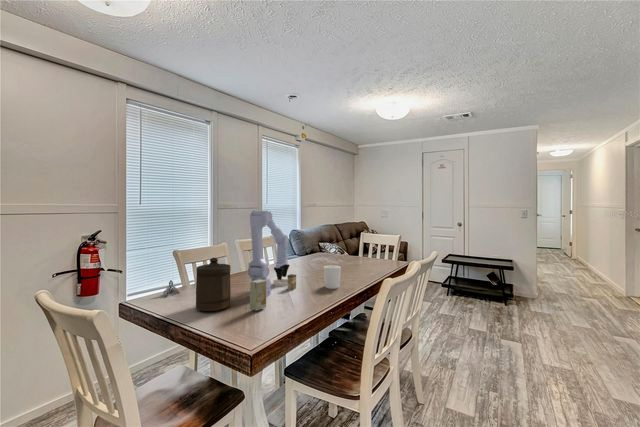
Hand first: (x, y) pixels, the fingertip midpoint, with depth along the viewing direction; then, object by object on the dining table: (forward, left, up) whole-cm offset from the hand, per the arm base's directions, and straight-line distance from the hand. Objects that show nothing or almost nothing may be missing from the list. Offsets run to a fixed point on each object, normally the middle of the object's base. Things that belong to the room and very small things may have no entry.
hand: (281, 278), depth 173 cm
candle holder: (-30, -1, -4) cm, 30 cm away
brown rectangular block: (-9, +8, -4) cm, 13 cm away
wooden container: (+16, +44, -4) cm, 47 cm away
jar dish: (0, 0, -4) cm, 4 cm away
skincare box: (-5, +42, -4) cm, 43 cm away
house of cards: (+50, +31, -5) cm, 60 cm away
